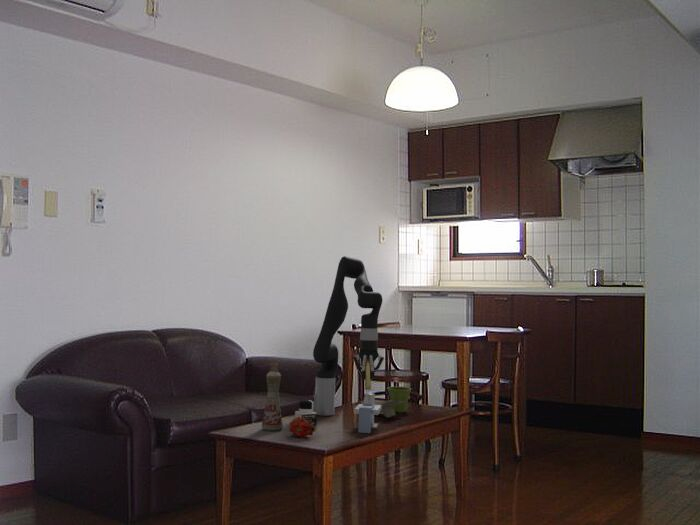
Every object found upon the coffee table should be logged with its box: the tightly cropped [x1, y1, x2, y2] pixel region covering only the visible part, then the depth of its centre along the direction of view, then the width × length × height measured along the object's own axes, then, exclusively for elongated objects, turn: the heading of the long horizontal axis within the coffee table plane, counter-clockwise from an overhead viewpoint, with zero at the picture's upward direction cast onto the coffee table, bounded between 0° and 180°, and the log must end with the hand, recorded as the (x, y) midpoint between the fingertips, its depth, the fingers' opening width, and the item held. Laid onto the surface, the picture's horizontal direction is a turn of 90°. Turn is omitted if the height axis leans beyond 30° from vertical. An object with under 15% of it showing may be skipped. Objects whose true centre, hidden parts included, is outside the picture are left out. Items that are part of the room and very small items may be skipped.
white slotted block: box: [378, 399, 404, 419], centre depth 373 cm, size 16×9×15 cm
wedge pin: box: [364, 359, 372, 391], centre depth 342 cm, size 3×3×13 cm
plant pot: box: [386, 386, 412, 413], centre depth 392 cm, size 12×12×11 cm
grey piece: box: [353, 392, 382, 429], centre depth 345 cm, size 10×14×14 cm
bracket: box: [358, 403, 374, 434], centre depth 340 cm, size 5×12×10 cm, turn 172°
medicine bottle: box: [294, 399, 318, 431], centre depth 339 cm, size 7×7×12 cm
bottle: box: [261, 361, 284, 432], centre depth 336 cm, size 9×9×28 cm
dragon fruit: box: [287, 417, 316, 439], centre depth 321 cm, size 8×8×12 cm
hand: (368, 379), depth 342 cm, fingers closed on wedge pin, 2 cm apart
